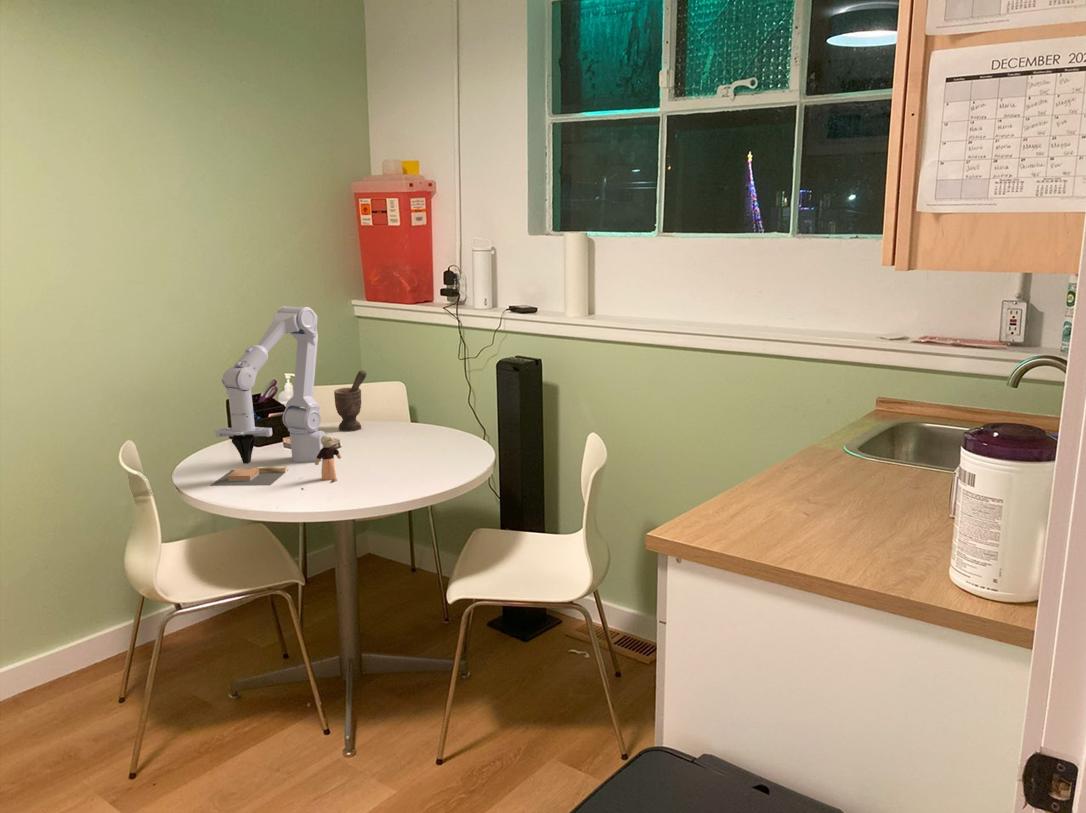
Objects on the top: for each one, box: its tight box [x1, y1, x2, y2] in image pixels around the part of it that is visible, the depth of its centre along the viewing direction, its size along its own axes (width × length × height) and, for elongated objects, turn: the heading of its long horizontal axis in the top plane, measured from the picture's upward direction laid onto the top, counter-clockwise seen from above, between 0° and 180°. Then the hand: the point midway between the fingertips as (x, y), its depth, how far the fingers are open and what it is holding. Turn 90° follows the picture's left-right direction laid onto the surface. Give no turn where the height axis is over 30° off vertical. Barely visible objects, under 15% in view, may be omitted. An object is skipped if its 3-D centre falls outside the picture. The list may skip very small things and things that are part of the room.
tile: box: [228, 468, 259, 481], centre depth 231 cm, size 1×6×6 cm
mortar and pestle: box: [333, 369, 367, 432], centre depth 283 cm, size 12×9×20 cm
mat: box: [209, 469, 287, 487], centre depth 232 cm, size 16×14×1 cm
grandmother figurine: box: [314, 433, 342, 483], centre depth 228 cm, size 8×4×13 cm, turn 148°
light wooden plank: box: [235, 465, 289, 473], centre depth 236 cm, size 14×3×1 cm, turn 87°
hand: (247, 462), depth 231 cm, fingers closed
